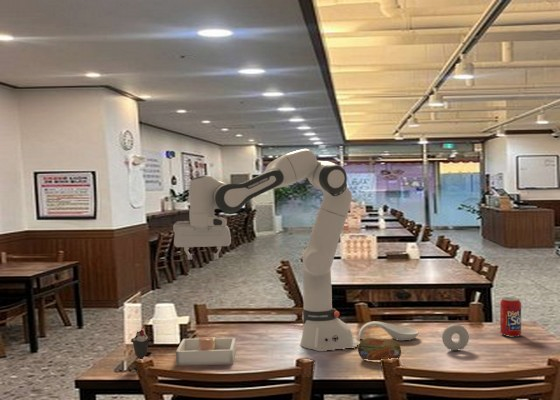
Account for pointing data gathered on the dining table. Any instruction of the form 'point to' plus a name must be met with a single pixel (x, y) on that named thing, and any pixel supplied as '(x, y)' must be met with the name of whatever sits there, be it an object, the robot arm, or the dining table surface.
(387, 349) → the tin
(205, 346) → the reddish brown block
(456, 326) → the donut
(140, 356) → the sundae
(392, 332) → the spoon rest
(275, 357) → the dining table surface
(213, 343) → the birch cube
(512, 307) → the soda can
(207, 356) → the bus tub
